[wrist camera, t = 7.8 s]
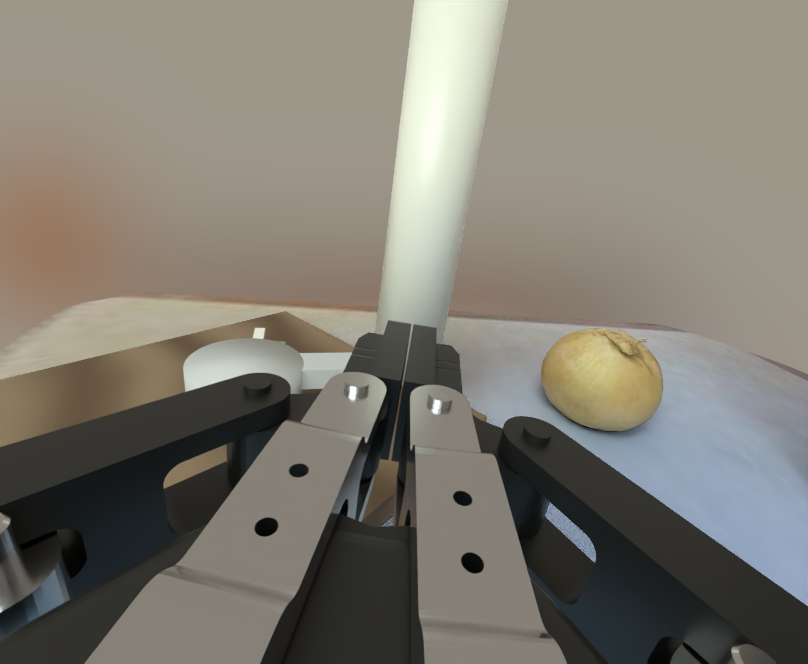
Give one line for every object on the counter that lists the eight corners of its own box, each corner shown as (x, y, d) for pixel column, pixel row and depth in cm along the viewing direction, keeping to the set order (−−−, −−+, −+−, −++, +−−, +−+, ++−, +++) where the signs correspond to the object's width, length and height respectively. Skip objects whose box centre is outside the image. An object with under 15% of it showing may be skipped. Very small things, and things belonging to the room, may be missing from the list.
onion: (510, 393, 32) (534, 307, 29) (576, 377, 36) (603, 300, 33) (600, 460, 26) (642, 360, 23) (667, 432, 30) (710, 344, 27)
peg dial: (237, 335, 30) (227, -8, 22) (423, 354, 31) (478, 37, 23) (165, 429, 20) (97, -136, 12) (441, 451, 21) (549, -45, 13)
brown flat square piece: (285, 326, 37) (285, 310, 36) (481, 436, 26) (487, 415, 25) (-33, 414, 22) (-43, 387, 21) (122, 754, 11) (114, 723, 10)
